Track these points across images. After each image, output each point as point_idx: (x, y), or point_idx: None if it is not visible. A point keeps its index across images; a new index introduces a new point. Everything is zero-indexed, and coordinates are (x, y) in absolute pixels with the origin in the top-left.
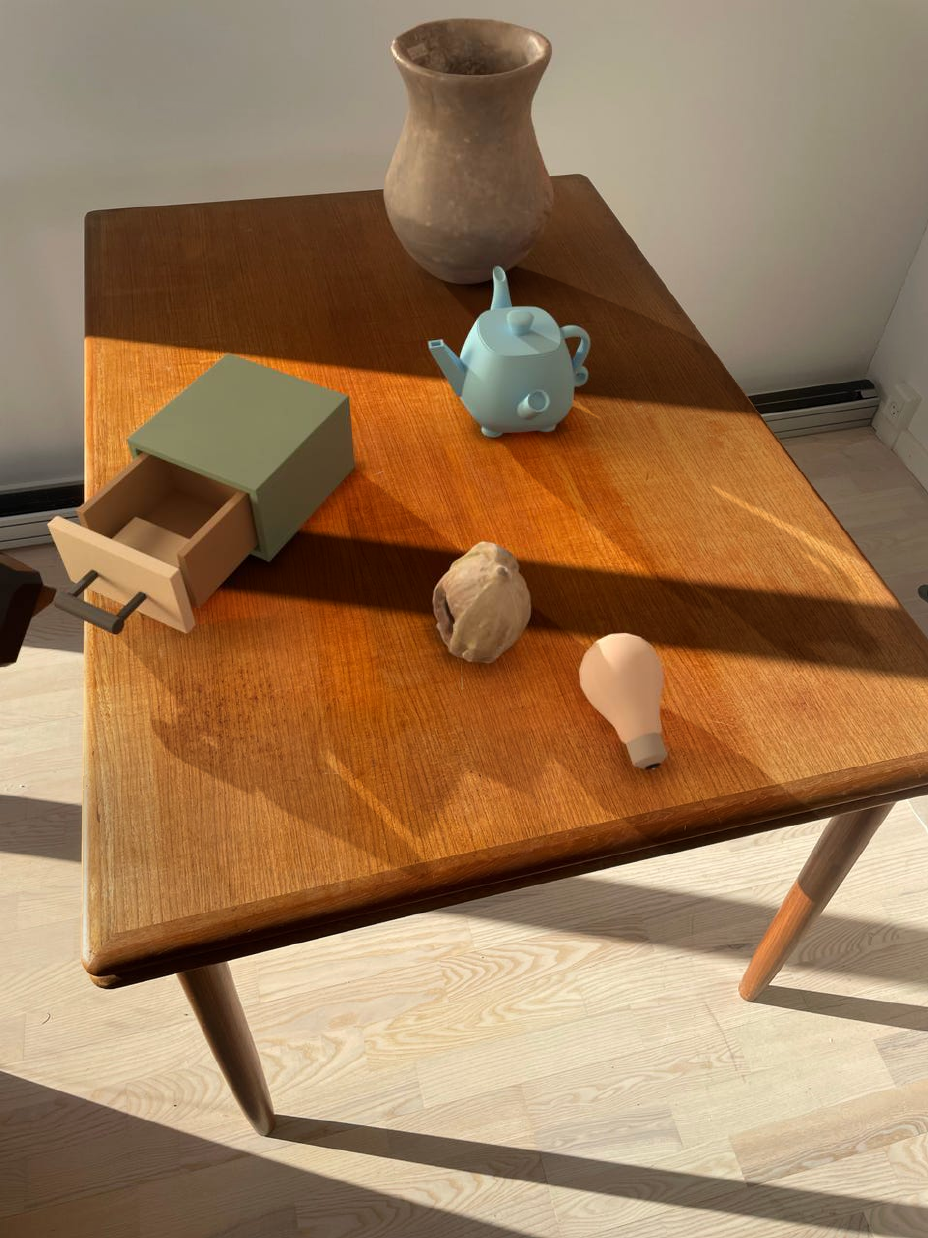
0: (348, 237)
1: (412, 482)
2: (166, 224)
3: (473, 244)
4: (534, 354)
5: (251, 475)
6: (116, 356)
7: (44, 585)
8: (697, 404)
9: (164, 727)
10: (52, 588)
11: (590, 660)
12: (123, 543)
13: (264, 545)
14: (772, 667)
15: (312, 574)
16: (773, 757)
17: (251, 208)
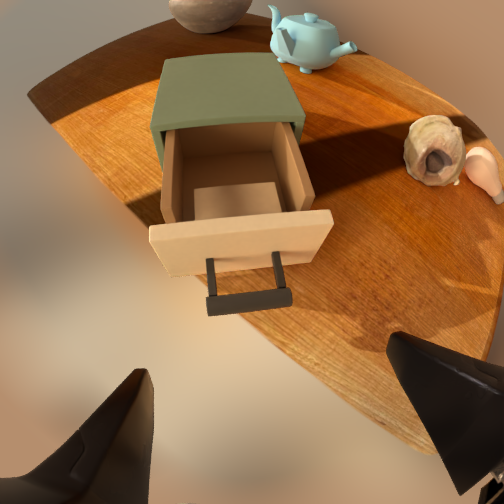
0: (144, 39)
1: (305, 101)
2: (57, 76)
3: (233, 7)
4: (331, 28)
5: (288, 107)
6: (67, 123)
7: (442, 347)
8: (354, 53)
9: (361, 340)
10: (415, 337)
11: (484, 164)
12: (210, 217)
13: None
14: (474, 145)
15: (323, 171)
16: (500, 179)
17: (91, 53)
